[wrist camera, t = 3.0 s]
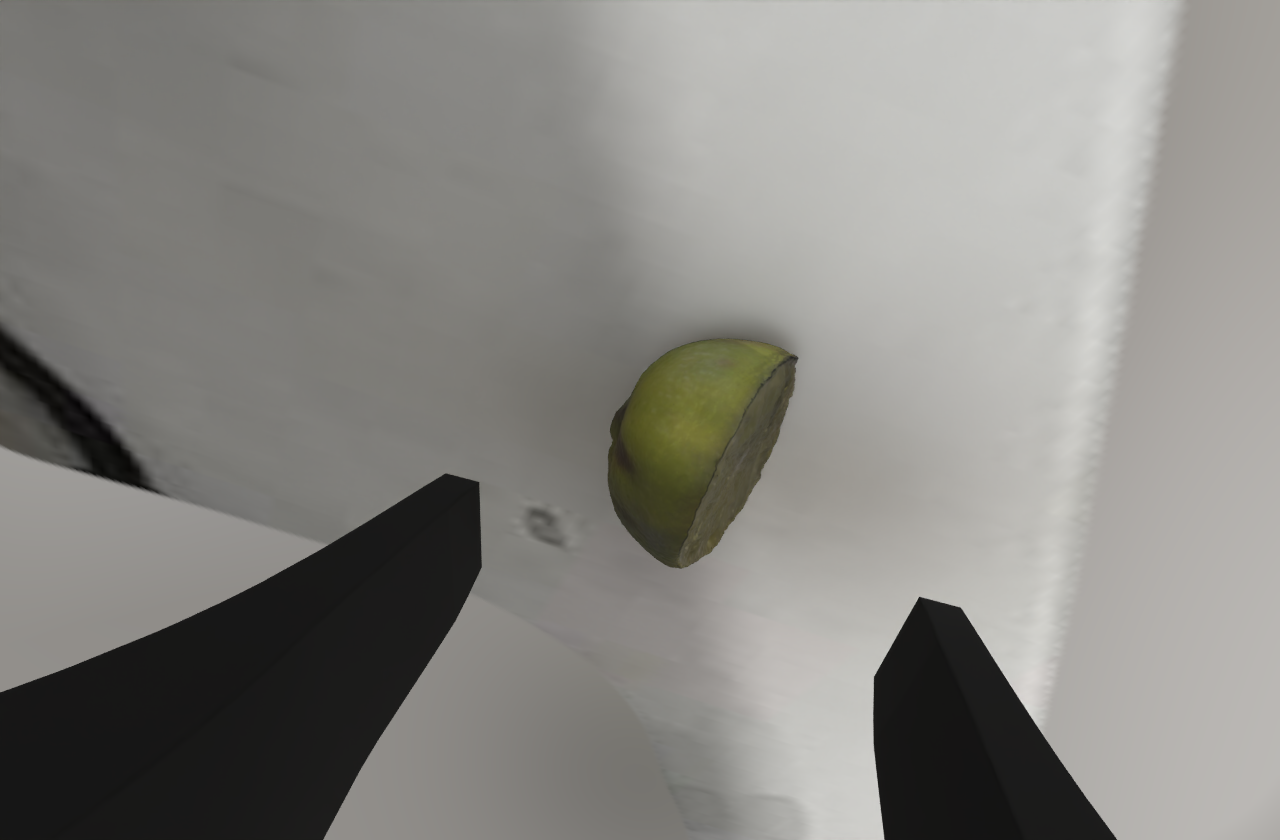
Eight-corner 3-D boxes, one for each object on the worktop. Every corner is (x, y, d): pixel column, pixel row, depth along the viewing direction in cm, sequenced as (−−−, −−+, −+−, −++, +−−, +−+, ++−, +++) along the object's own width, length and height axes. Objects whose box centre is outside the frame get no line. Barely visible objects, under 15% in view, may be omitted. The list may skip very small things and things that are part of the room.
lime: (782, 280, 13) (770, 390, 9) (839, 459, 15) (849, 616, 11) (604, 337, 15) (525, 451, 11) (675, 491, 17) (631, 636, 13)
